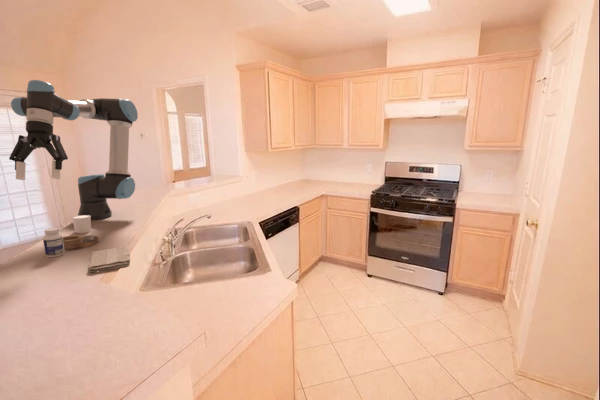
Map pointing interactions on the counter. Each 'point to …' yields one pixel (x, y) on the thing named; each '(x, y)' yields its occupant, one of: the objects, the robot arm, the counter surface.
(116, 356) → the counter surface
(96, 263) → the washcloth
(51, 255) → the pill bottle
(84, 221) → the white cup
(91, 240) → the fire pit
